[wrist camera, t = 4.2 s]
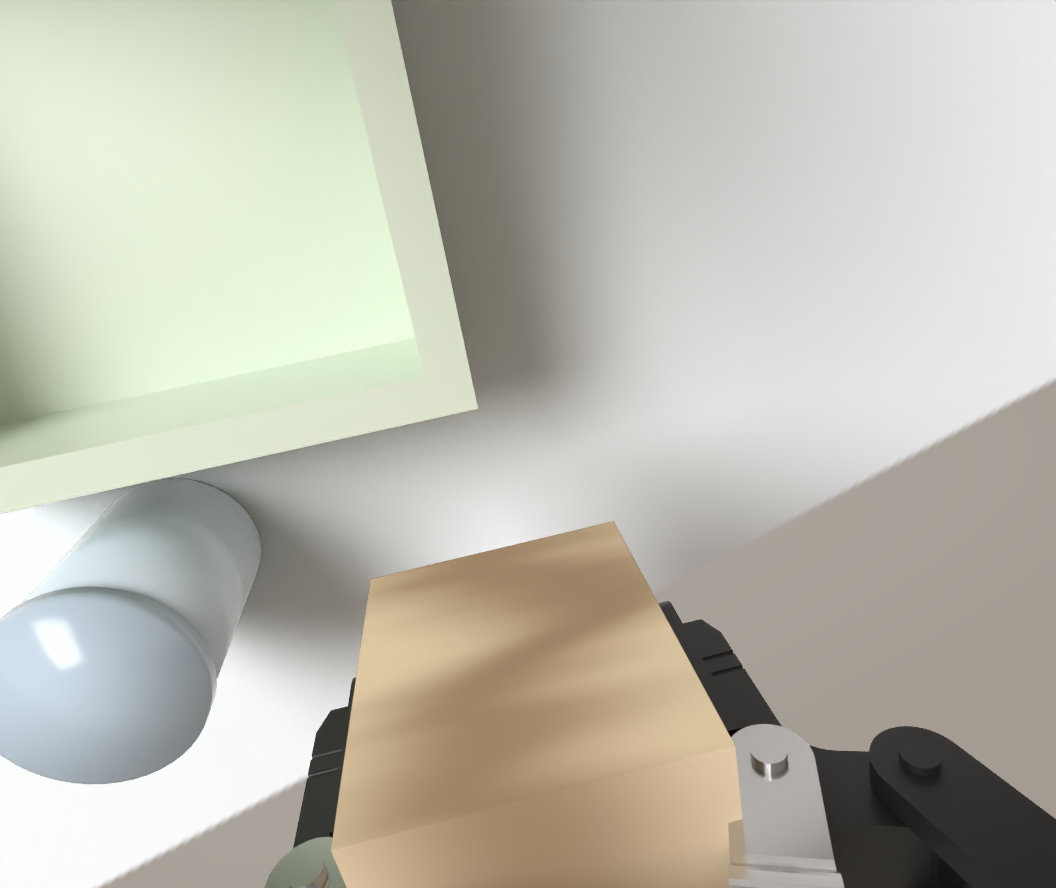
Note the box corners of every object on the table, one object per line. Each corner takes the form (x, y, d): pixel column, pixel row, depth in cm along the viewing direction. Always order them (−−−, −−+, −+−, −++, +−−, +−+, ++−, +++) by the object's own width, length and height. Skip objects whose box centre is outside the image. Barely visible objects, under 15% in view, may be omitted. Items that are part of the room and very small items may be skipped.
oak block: (613, 521, 14) (735, 745, 8) (644, 709, 16) (760, 994, 10) (370, 579, 14) (331, 850, 8) (431, 763, 16) (432, 1087, 10)
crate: (340, -203, 15) (312, -369, 11) (461, 357, 20) (478, 408, 16) (-345, -111, 14) (-709, -253, 9) (-38, 463, 19) (-180, 553, 14)
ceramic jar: (235, 458, 20) (163, 578, 14) (284, 594, 22) (239, 751, 16) (66, 496, 20) (-83, 635, 14) (131, 631, 22) (24, 807, 16)
